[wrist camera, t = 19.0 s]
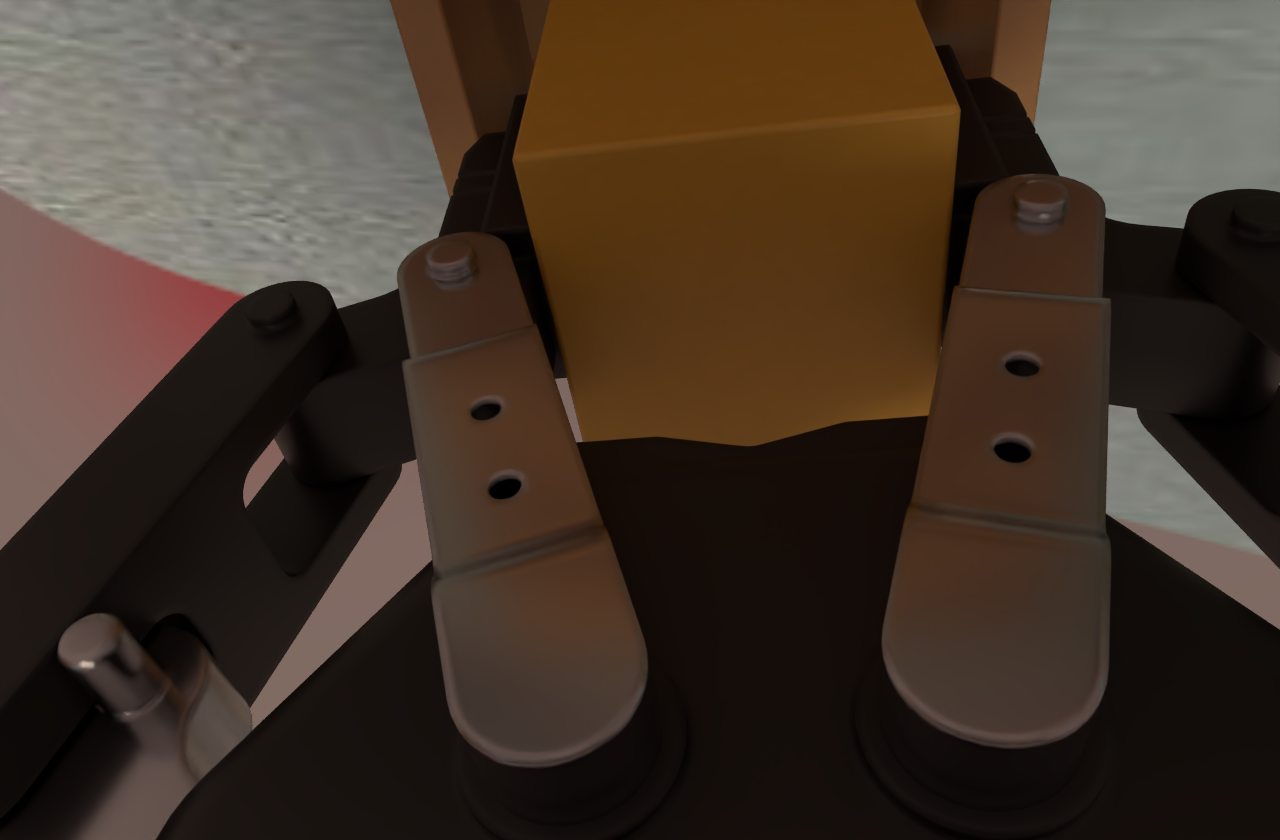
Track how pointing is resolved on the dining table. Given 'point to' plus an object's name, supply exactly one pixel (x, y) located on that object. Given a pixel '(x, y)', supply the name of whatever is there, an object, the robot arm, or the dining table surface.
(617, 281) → the block
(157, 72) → the dining table surface
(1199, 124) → the dining table surface
